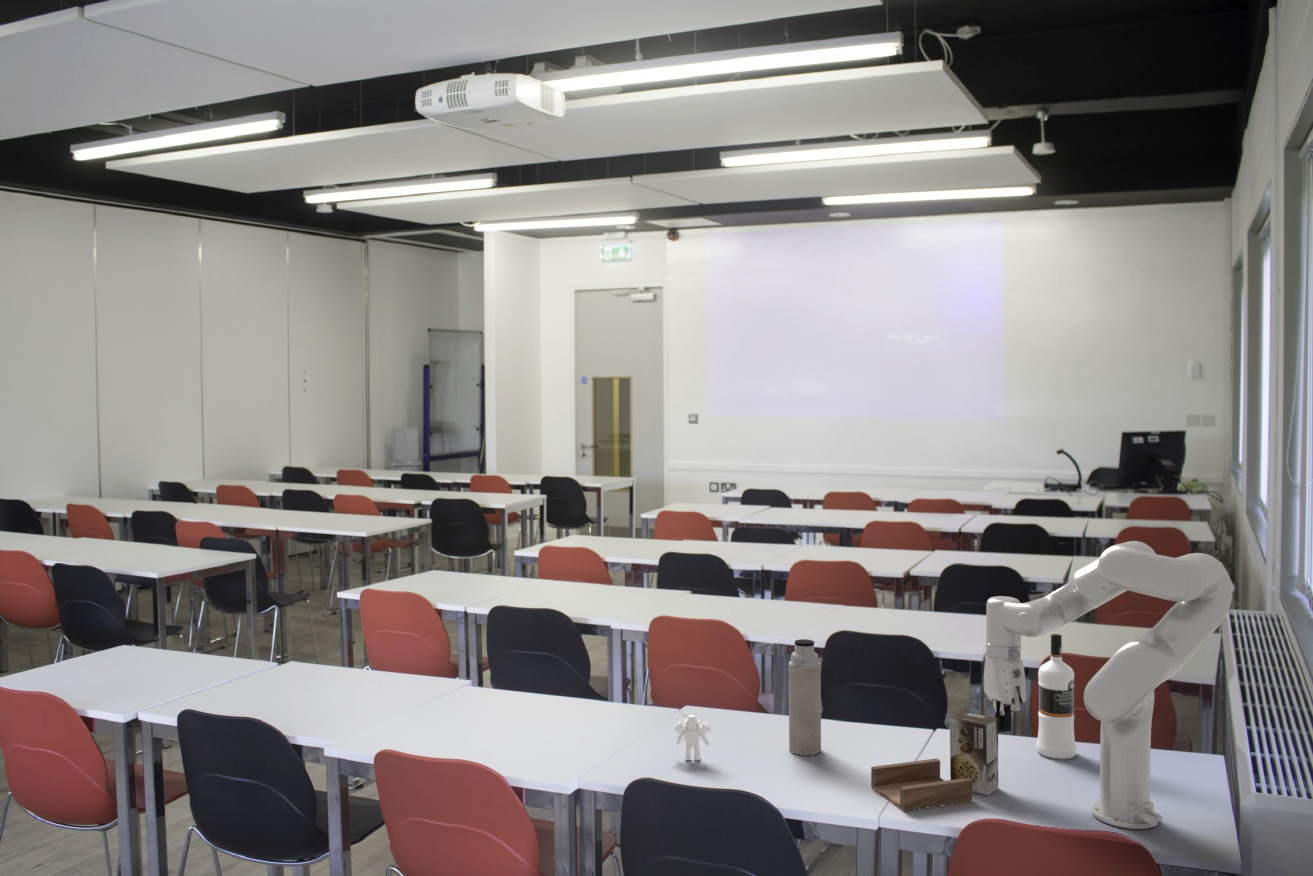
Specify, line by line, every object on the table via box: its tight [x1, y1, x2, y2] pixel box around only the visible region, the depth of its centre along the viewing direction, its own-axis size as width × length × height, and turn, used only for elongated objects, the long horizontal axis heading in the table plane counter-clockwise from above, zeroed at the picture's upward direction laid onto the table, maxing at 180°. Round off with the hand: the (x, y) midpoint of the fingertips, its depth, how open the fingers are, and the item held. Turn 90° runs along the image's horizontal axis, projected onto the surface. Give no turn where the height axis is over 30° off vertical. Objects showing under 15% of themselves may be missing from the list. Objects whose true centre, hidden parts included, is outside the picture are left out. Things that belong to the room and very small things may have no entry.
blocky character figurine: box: [673, 711, 712, 761], centre depth 242 cm, size 9×4×12 cm, turn 80°
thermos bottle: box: [788, 638, 822, 756], centre depth 247 cm, size 8×8×28 cm
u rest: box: [870, 758, 973, 812], centre depth 218 cm, size 14×17×5 cm
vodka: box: [1035, 633, 1077, 761], centre depth 243 cm, size 9×9×30 cm
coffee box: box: [948, 710, 999, 796], centre depth 222 cm, size 9×6×16 cm
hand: (1003, 730), depth 225 cm, fingers closed
